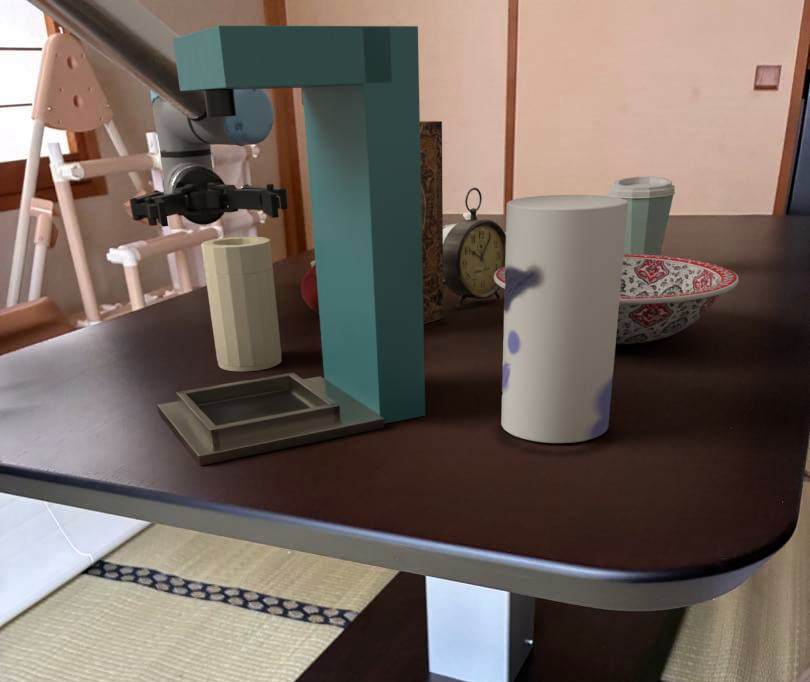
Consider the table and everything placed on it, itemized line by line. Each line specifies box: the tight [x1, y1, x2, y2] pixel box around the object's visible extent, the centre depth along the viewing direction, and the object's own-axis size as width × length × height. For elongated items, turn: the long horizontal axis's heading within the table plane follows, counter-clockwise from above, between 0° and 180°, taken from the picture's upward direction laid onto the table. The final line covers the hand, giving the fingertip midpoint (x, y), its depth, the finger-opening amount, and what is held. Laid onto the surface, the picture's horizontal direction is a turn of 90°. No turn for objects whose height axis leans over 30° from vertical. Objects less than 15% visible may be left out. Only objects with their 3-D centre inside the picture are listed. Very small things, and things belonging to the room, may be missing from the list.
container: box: [500, 194, 628, 444], centre depth 75 cm, size 10×10×20 cm
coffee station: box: [157, 25, 426, 467], centre depth 76 cm, size 16×23×33 cm
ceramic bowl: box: [494, 254, 739, 345], centre depth 105 cm, size 29×29×8 cm
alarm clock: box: [443, 187, 506, 310], centre depth 122 cm, size 11×5×16 cm, turn 131°
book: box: [420, 120, 444, 325], centre depth 110 cm, size 16×6×25 cm, turn 137°
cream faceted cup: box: [200, 236, 282, 373], centre depth 98 cm, size 8×8×14 cm
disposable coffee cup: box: [608, 175, 676, 256], centre depth 139 cm, size 11×11×15 cm
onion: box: [300, 263, 319, 315], centre depth 121 cm, size 6×6×8 cm
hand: (220, 210), depth 103 cm, fingers open, 13 cm apart
